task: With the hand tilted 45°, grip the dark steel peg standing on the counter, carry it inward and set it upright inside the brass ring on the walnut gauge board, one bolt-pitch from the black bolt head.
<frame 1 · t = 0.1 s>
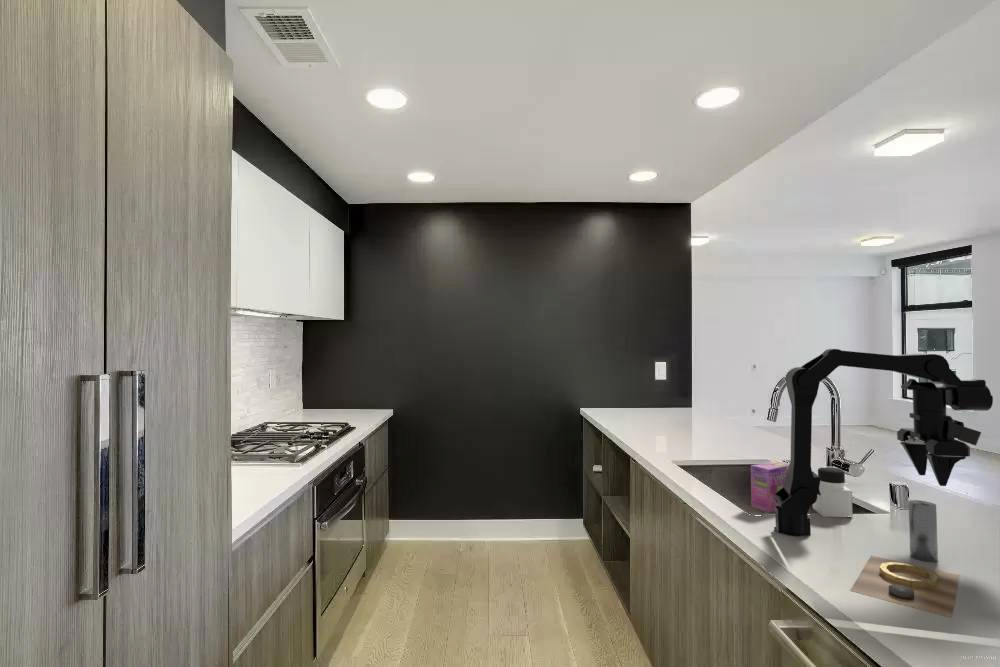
hand: (932, 480, 116), 15 cm above the countertop, tool pointing down, fingers open, 9 cm apart
brass ring: (908, 578, 99), resting on gauge board
medicine bottle: (832, 514, 139), on the countertop
box: (772, 507, 145), on the countertop
gauge board: (906, 586, 98), on the countertop
steel peg: (924, 561, 109), on the countertop
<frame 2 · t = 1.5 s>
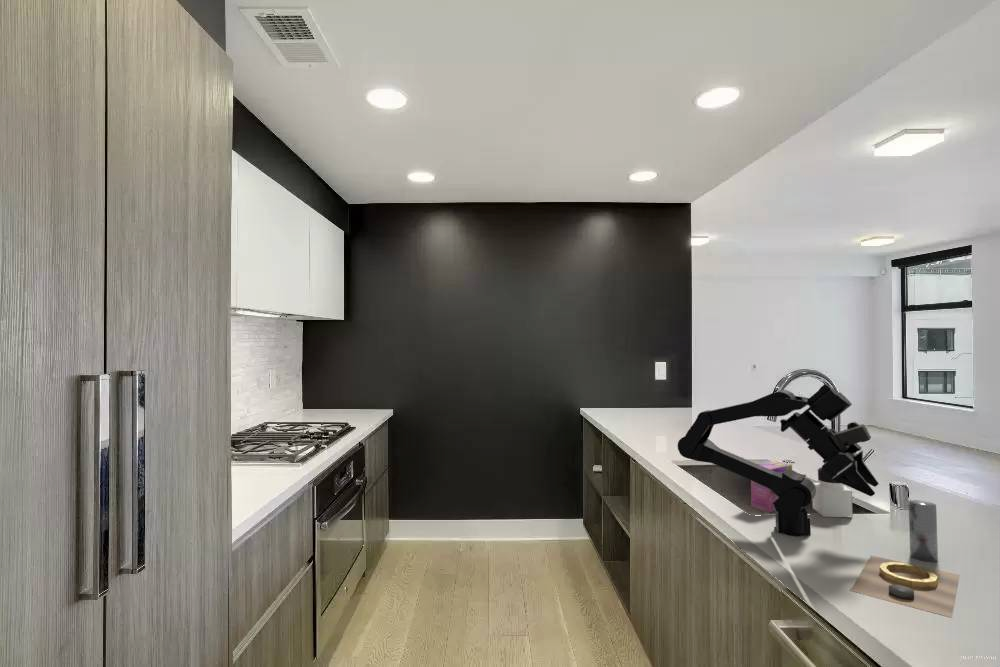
hand: (875, 490, 114), 13 cm above the countertop, tool tilted 45°, fingers open, 9 cm apart
nothing on the countertop moved.
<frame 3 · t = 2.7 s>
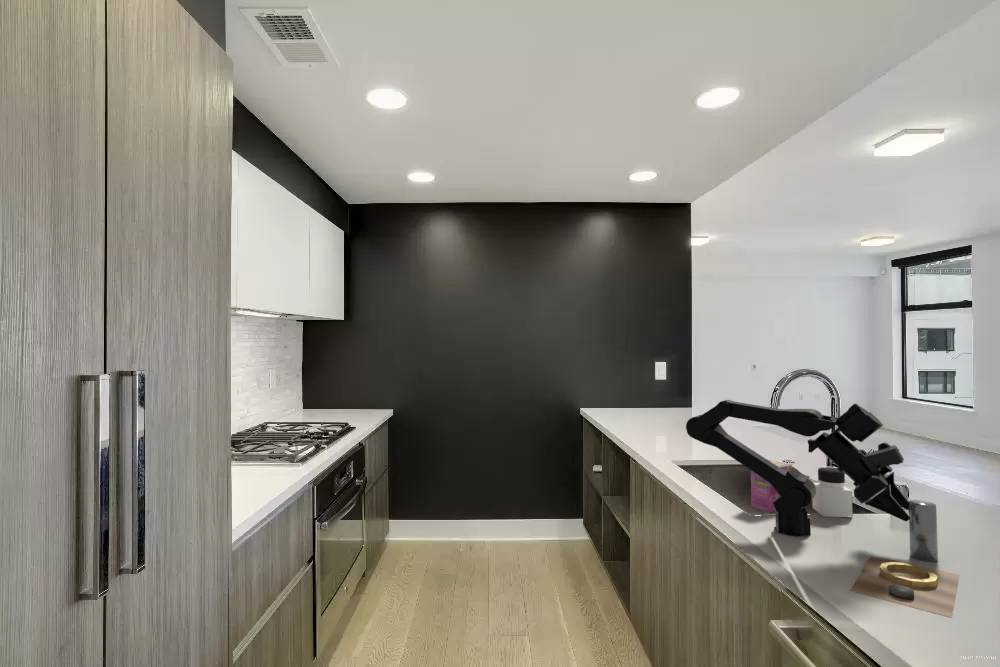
hand: (909, 514, 110), 9 cm above the countertop, tool tilted 45°, fingers open, 9 cm apart
nothing on the countertop moved.
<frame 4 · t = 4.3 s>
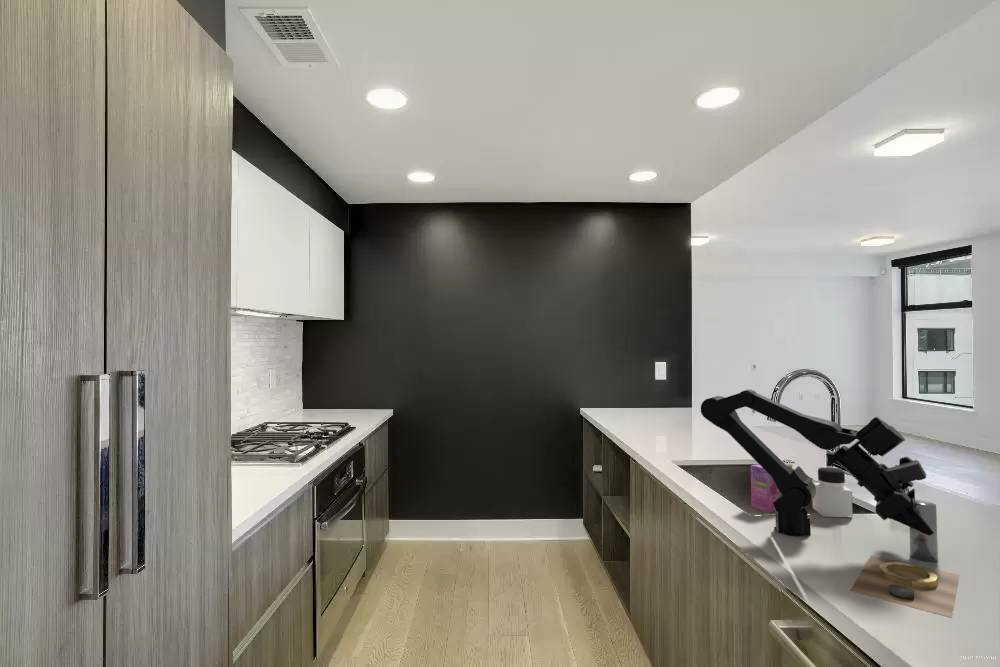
hand: (931, 530, 108), 7 cm above the countertop, tool tilted 45°, fingers closed on steel peg, 4 cm apart
steel peg: (924, 561, 109), on the countertop, touching gripper
everything else where it was.
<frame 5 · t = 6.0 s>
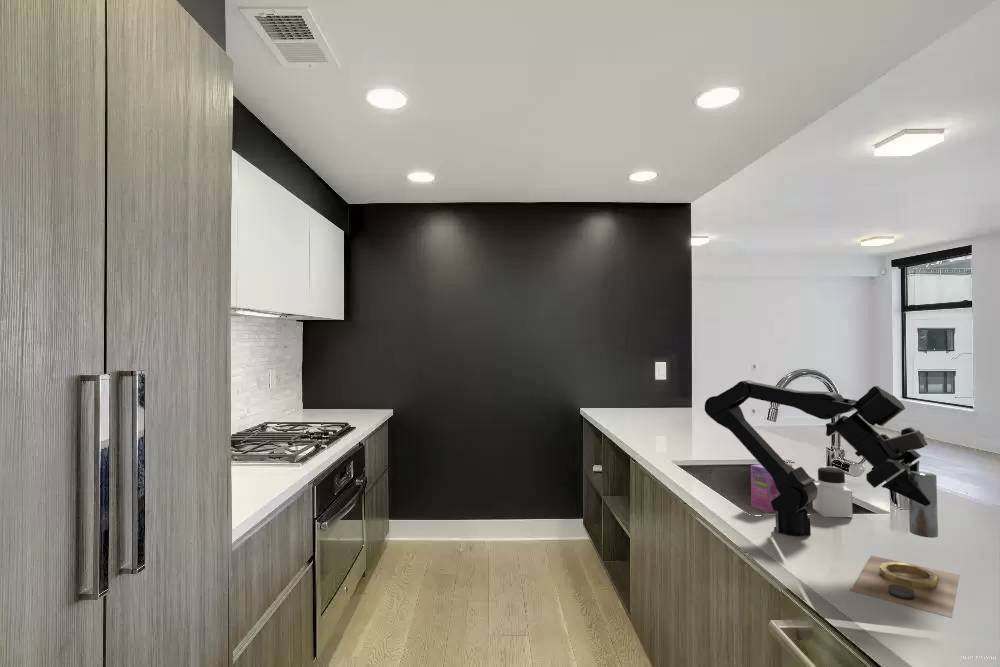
hand: (931, 502, 105), 14 cm above the countertop, tool tilted 45°, fingers closed on steel peg, 4 cm apart
steel peg: (923, 533, 105), point 7 cm above the countertop, touching gripper
everything else where it was.
when the fingers open (9 cm above the countertop, at t = 8.1 s): steel peg drops 1 cm, resting on gauge board.
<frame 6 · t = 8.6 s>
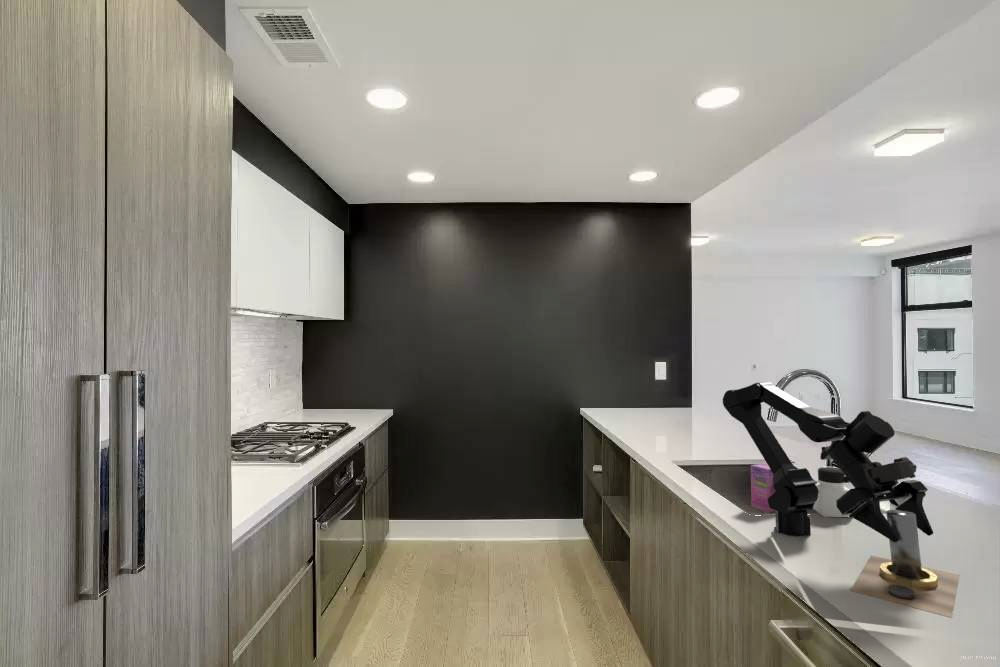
hand: (914, 537, 98), 9 cm above the countertop, tool tilted 45°, fingers open, 9 cm apart
steel peg: (907, 577, 99), point 1 cm above the countertop, touching gauge board
everything else where it was.
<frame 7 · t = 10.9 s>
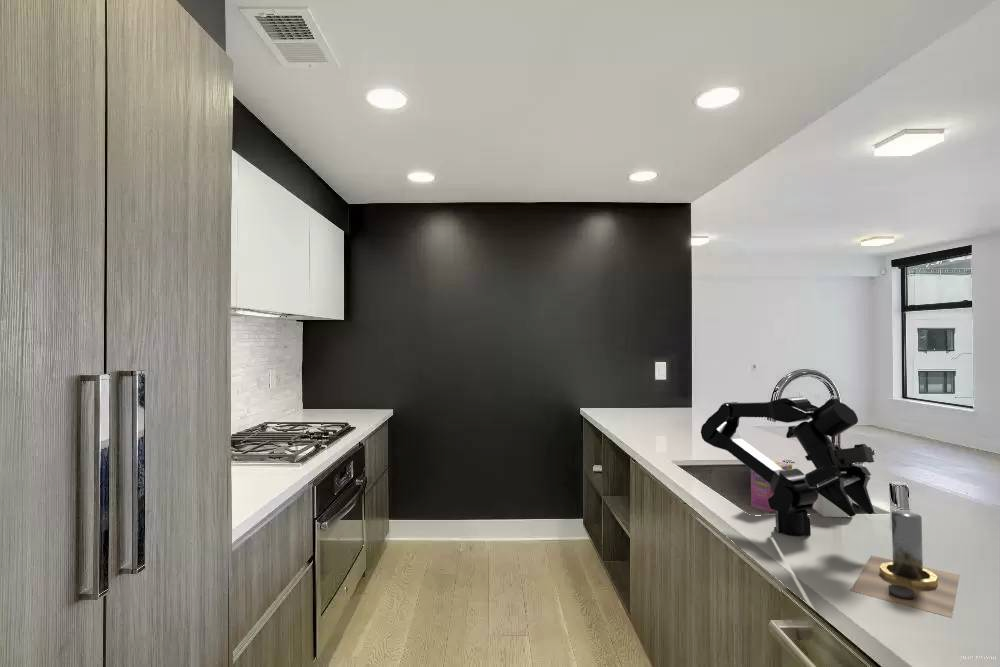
hand: (862, 514, 109), 10 cm above the countertop, tool tilted 35°, fingers open, 9 cm apart
nothing on the countertop moved.
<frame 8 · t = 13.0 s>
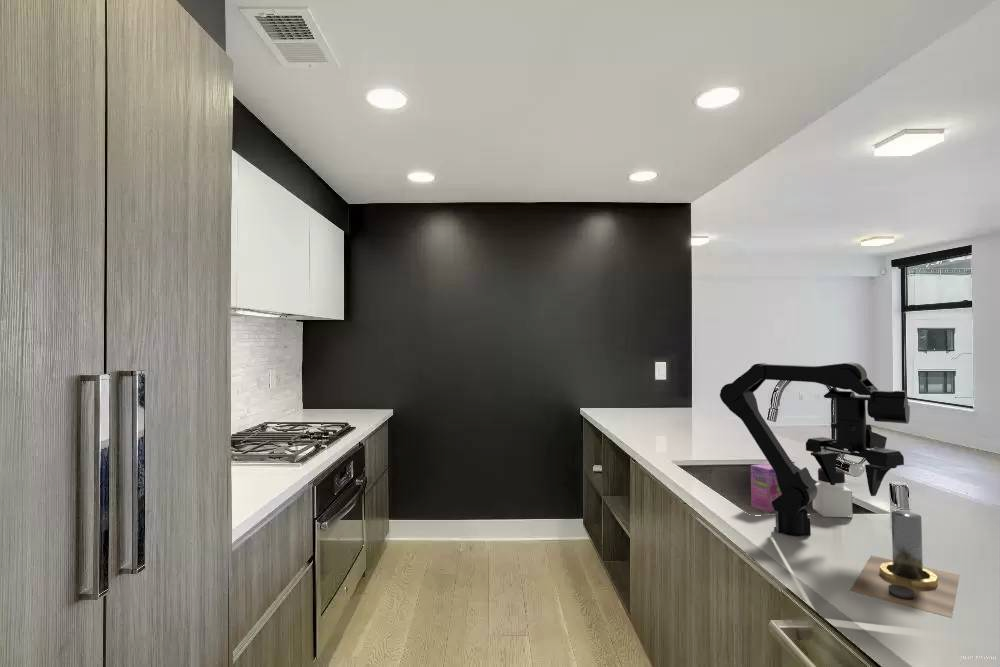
hand: (852, 490, 115), 13 cm above the countertop, tool pointing down, fingers open, 9 cm apart
nothing on the countertop moved.
at the end: steel peg 0.0 cm from the brass ring (horizontally); steel peg tilted 1°; steel peg point 0.8 cm above the countertop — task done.
